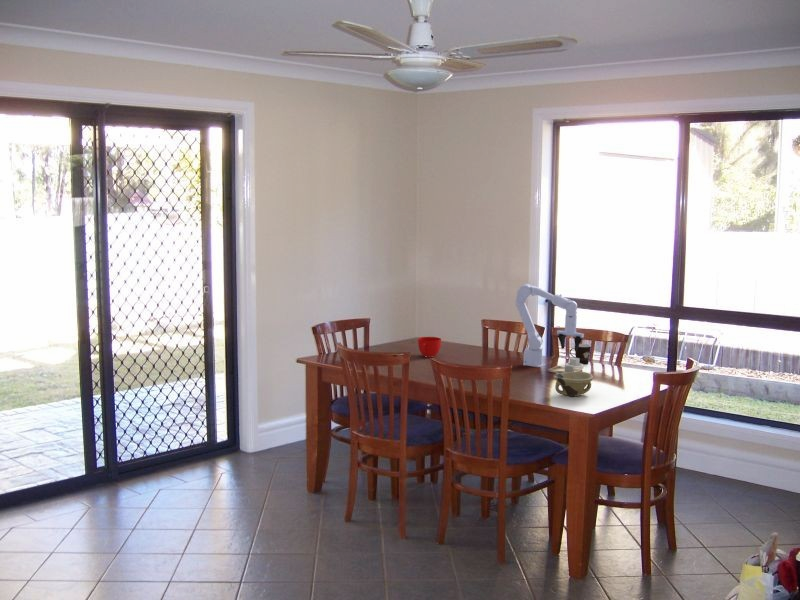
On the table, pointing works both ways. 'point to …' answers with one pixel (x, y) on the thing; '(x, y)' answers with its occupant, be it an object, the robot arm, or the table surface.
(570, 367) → the stone
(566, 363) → the dish
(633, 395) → the table surface
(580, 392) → the bowl
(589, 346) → the coffee mug
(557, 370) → the tray
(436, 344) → the ceramic cup
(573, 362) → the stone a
